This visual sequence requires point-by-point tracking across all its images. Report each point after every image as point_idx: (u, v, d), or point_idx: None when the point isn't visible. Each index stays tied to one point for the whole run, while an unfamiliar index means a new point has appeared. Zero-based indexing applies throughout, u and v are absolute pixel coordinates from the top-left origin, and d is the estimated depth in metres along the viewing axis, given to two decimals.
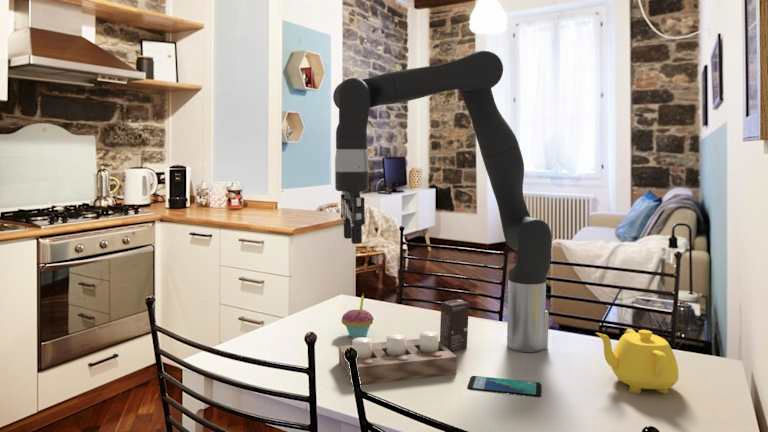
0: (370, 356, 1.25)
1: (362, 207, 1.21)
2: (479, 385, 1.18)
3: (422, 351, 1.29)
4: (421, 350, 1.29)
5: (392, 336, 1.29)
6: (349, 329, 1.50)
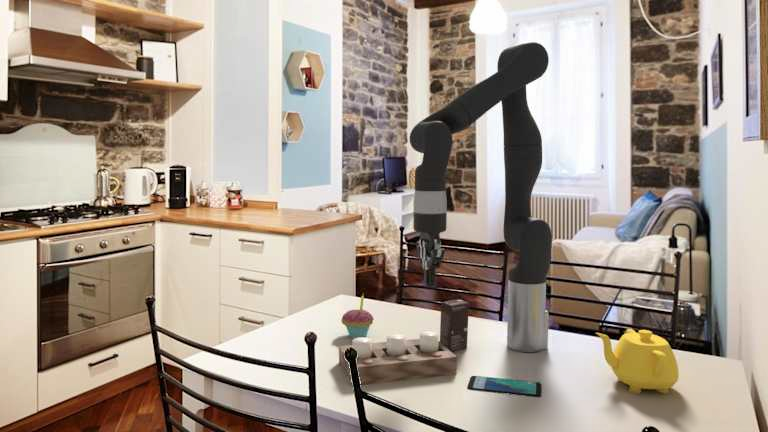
0: (370, 356, 1.25)
1: (440, 258, 1.23)
2: (479, 385, 1.18)
3: (422, 351, 1.29)
4: (421, 350, 1.29)
5: (392, 336, 1.29)
6: (349, 329, 1.50)
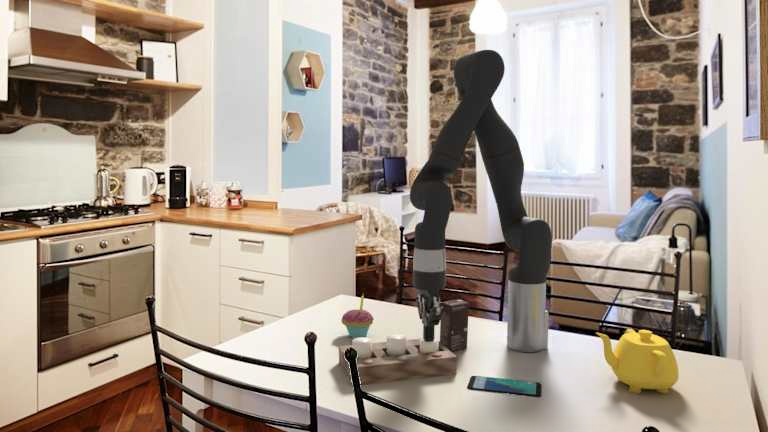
0: (370, 356, 1.25)
1: (440, 316, 1.25)
2: (479, 385, 1.18)
3: None
4: None
5: (392, 336, 1.29)
6: (349, 329, 1.50)
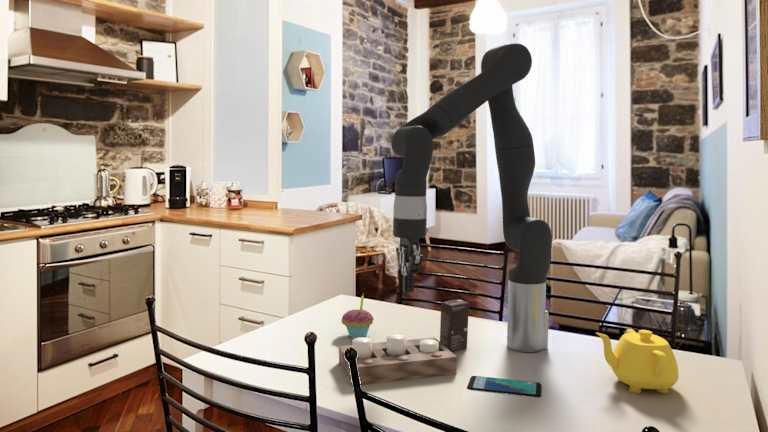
0: (370, 356, 1.25)
1: (419, 264, 1.22)
2: (479, 385, 1.18)
3: None
4: None
5: (392, 336, 1.29)
6: (349, 329, 1.50)
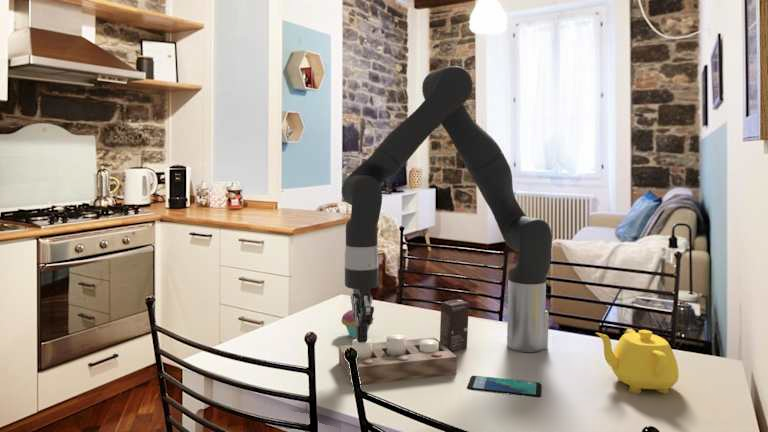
0: (370, 356, 1.25)
1: (370, 316, 1.21)
2: (479, 385, 1.18)
3: None
4: None
5: (392, 336, 1.29)
6: (349, 329, 1.50)
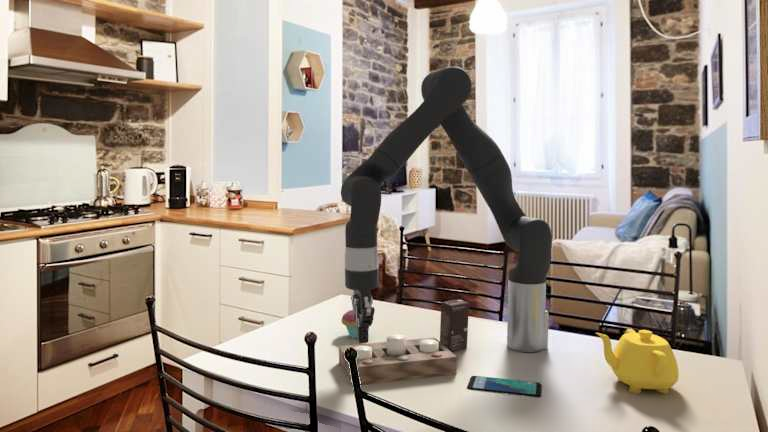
0: None
1: (371, 316, 1.21)
2: (479, 385, 1.18)
3: None
4: None
5: (392, 336, 1.29)
6: (349, 329, 1.50)
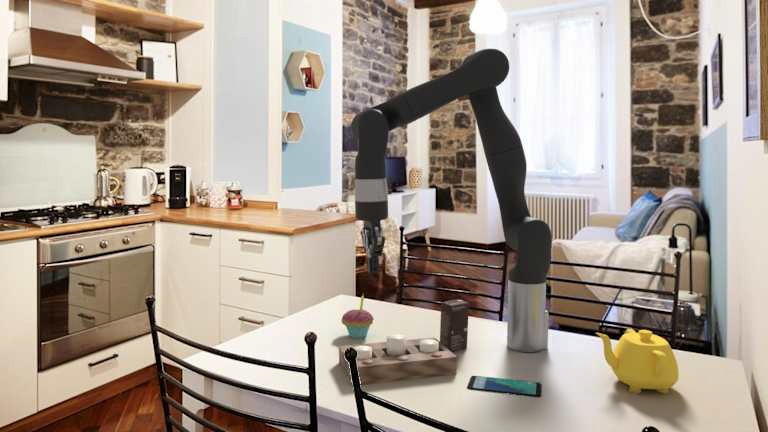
0: None
1: (382, 245, 1.24)
2: (479, 385, 1.18)
3: None
4: None
5: (392, 336, 1.29)
6: (349, 329, 1.50)
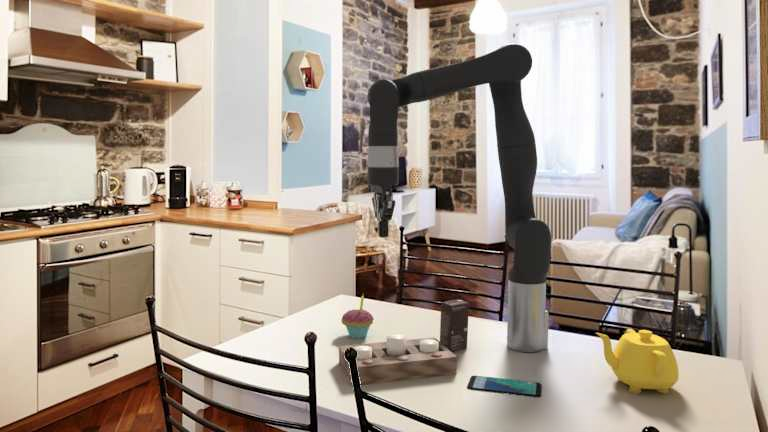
0: None
1: (392, 209, 1.31)
2: (479, 385, 1.18)
3: None
4: None
5: (392, 336, 1.29)
6: (349, 329, 1.50)
